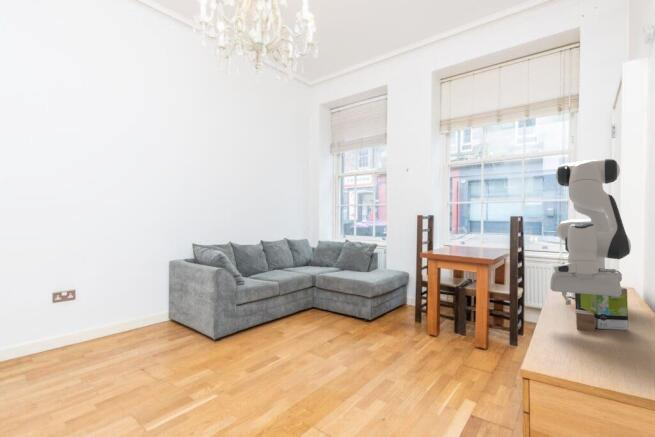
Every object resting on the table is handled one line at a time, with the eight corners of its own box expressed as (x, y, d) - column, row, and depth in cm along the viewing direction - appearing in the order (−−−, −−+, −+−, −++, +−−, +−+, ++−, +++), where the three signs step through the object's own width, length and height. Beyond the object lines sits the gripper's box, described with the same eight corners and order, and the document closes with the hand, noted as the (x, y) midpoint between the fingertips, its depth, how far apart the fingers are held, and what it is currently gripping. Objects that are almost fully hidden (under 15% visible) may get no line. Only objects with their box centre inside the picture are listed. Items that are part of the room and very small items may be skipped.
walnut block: (576, 325, 122) (575, 309, 122) (593, 327, 119) (593, 311, 119) (577, 329, 118) (576, 312, 118) (594, 331, 115) (594, 314, 115)
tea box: (630, 330, 115) (628, 288, 115) (597, 329, 117) (595, 288, 117) (603, 318, 130) (601, 280, 130) (574, 317, 132) (573, 280, 132)
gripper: (620, 268, 115) (621, 307, 115) (549, 265, 127) (551, 301, 127) (623, 270, 110) (624, 311, 110) (549, 267, 122) (550, 304, 121)
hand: (584, 306), depth 118 cm, fingers open, 8 cm apart
